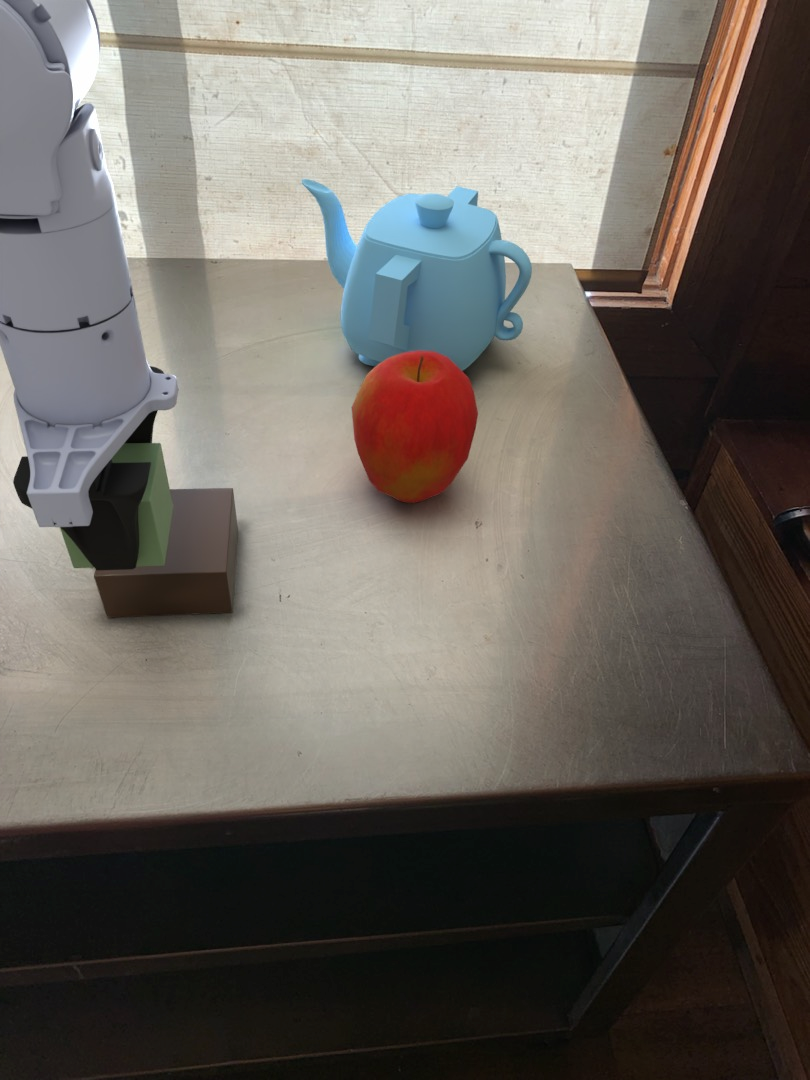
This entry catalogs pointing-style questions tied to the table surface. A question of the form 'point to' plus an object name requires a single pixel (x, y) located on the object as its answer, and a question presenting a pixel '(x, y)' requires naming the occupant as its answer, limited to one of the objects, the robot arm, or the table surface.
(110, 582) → the walnut base
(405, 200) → the teapot
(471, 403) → the apple
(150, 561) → the green block
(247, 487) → the table surface
